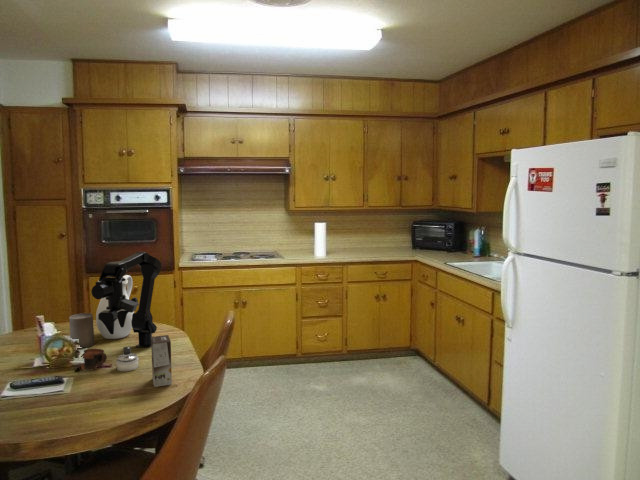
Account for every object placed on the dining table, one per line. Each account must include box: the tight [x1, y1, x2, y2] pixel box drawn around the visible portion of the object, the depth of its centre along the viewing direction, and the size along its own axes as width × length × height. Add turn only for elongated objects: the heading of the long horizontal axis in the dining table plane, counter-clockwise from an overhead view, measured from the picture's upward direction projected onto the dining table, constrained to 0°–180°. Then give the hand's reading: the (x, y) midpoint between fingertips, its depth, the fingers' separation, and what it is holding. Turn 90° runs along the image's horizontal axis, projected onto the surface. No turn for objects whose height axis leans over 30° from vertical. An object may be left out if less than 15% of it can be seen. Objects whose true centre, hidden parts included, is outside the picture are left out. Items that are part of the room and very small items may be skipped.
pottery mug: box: [80, 348, 107, 371], centre depth 195 cm, size 12×10×8 cm
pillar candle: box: [68, 312, 96, 348], centre depth 220 cm, size 10×10×15 cm
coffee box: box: [150, 334, 173, 388], centre depth 180 cm, size 9×6×16 cm
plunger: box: [116, 346, 138, 361], centre depth 193 cm, size 7×7×4 cm
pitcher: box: [95, 274, 135, 340], centre depth 237 cm, size 24×17×28 cm
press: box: [115, 355, 140, 372], centre depth 195 cm, size 11×8×4 cm
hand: (117, 330), depth 202 cm, fingers open, 9 cm apart
